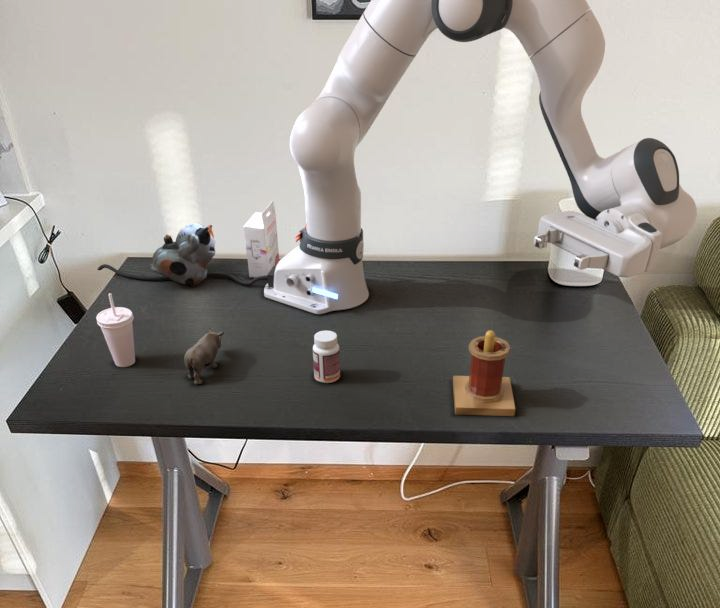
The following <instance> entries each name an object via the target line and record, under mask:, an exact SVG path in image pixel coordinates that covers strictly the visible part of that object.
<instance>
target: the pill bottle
mask: <svg viewBox="0 0 720 608" xmlns="http://www.w3.org/2000/svg"><path fill="white" fill-rule="evenodd" d="M313 341H314V342H313V343H314V344H313V345H312V358H313V359H312V360H313V377H314V380H316V381H317V382H320V383H323V384H330V383H334V382H337V381H338V380H339V379H340V377H341V358H340V357H341V356H340V355H341V354H340V353H341V351H340V350H341V349H340V345H339V344H338V334H337V333H336V332H335V331H332V330H320V331H318V332H316V333H315V334H314V335H313Z"/></svg>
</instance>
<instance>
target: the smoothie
mask: <svg viewBox="0 0 720 608" xmlns="http://www.w3.org/2000/svg"><path fill="white" fill-rule="evenodd" d="M107 295H108V299H109V303H110V307H109V308H106V309H103V310H101V311H100V312H98V313H97V314H96V317H95V319H96V323H97V325H98V326H99V327H100V330H101V332H102V334H103V337H104V339H105V342H106V345H107V347H108V350H109V352H110V355H111V358H112V360H113V363H114V364H115V366H117V367H120V368H127V367H130V366H132V365H134V364H135V363H136V353H135V352H136V351H135V341H134V340H135V339H134V326H133V325H134V324H133V321H134V314H133V311H132V310H131V309H129V308H127V307H123V306H115V303H114V299H113V294H112V293H111V292H109V293H108V294H107Z"/></svg>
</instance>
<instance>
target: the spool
mask: <svg viewBox="0 0 720 608" xmlns="http://www.w3.org/2000/svg"><path fill="white" fill-rule="evenodd" d="M484 342H485V335H482V336H477V337H475V338H473V339H472V340H471V341H470V343H469V344H468V350H469V353H470V354H471V358H470V368H469V375H468V376H469V381H468V382H467V383H466V385H465V389H464V390H465V393H466V395H467V396H468V397H469V398H471V399H473V400H475V401H479V402H495V401H497V400H499V399H501V398H502V396H503V394H504V387H503V385H502V377H504V369H505V364H506V363H505V362H506V358H507V357H508V356H509V354H510V352H511V345H510V344H509V342H508V341H506V340H505V339H503V338H501V337H497V336H495V342H494V349H493V352H485V351H484Z"/></svg>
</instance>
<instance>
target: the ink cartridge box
mask: <svg viewBox="0 0 720 608" xmlns="http://www.w3.org/2000/svg"><path fill="white" fill-rule="evenodd" d="M242 227H243V235H244V242H245V251H246V259H247V267H248V277H249V278H252V279H254V278H256V277H259V276H264V275H267V274H268V273H269V272H270V270H271V269H272V268H273V267H274V266H277V264H278V262H279V261H280V253H279V251H280V250H279V240H278V239H279V238H278V228H277V227H278V226H277V214H276V209H275V202H274V200H271V202H270V203H269V204H268V205H267V206H266V208H265V209H264V210H263V211H262V212H258V211H257V212H254V214H253V215H251V217H250V218H249V219H248V221H247V222H245V224H244V225H243V226H242Z"/></svg>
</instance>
